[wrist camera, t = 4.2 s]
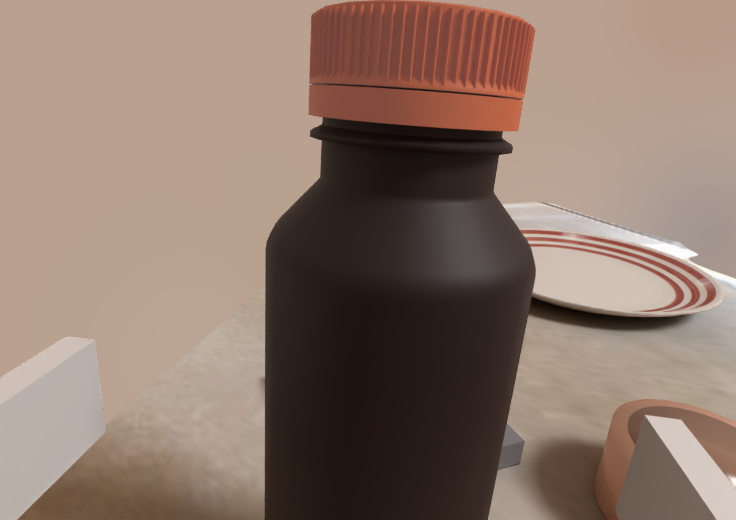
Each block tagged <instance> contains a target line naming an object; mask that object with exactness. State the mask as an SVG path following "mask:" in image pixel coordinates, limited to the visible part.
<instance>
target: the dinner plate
mask: <svg viewBox="0 0 736 520" xmlns="http://www.w3.org/2000/svg"><path fill="white" fill-rule="evenodd" d="M519 230H520V231H521V233H522V234H523V235H524V237H525V238H526V240H527V241H528V243H529V245H530V247H531V249H532V253H533V257H534V262H535V267H536V277H535V282H534V288H533V293H532V297H533V298H535V299H538V300H541V301H544V302H547V303H550V304H553V305H557V306H561V307H564V308H569V309H573V310H578V311H583V312H589V313H595V314H603V315H614V316H628V317H666V316H677V315H685V314H692V313H697V312H702V311H706V310H709V309H711V308H713V307H715V306H717V305H718V304H720V303H721V302H722V300H723V298H724V291H723V288H722V286H721V285H720V284H719V283H718V282H717V281H716V280H715V279H714V278H713V277H712V276H710V275H709V274H708V273H706V272H704V271H703V270H701V269H700V268H698V267H696V266H694V265H692V264H690V263H688V262H686V261H684V260H682V259H680V258H677V257H675V256H672V255H670V254H667V253H664V252H661V251H658V250H655V249H652V248H649V247H646V246H642V245H638V244H635V243H631V242H626V241H622V240H618V239H613V238H608V237H603V236H598V235H592V234H586V233H580V232H572V231H564V230H555V229H542V228H519Z"/></svg>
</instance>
